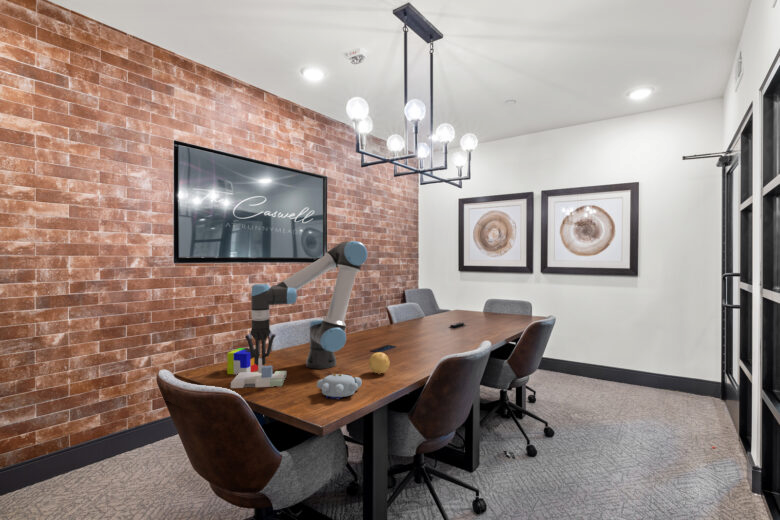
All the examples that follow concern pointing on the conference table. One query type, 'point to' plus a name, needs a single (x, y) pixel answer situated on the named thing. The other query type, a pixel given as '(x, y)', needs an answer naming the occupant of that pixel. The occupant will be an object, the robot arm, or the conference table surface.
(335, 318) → the robot arm
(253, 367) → the puzzle toy
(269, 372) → the block
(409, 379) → the conference table surface
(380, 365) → the stress ball
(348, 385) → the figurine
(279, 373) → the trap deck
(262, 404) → the conference table surface
